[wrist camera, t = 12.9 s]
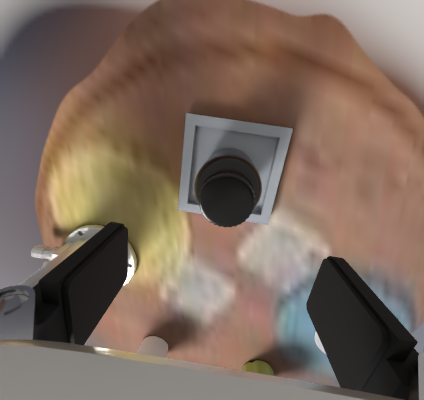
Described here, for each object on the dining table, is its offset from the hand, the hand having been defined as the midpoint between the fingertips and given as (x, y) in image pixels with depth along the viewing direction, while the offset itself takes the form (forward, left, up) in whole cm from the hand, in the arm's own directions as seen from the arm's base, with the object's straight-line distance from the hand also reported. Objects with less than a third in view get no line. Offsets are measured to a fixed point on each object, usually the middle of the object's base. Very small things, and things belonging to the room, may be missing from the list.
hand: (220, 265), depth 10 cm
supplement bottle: (0, 0, -20) cm, 20 cm away
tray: (0, 0, -21) cm, 21 cm away
